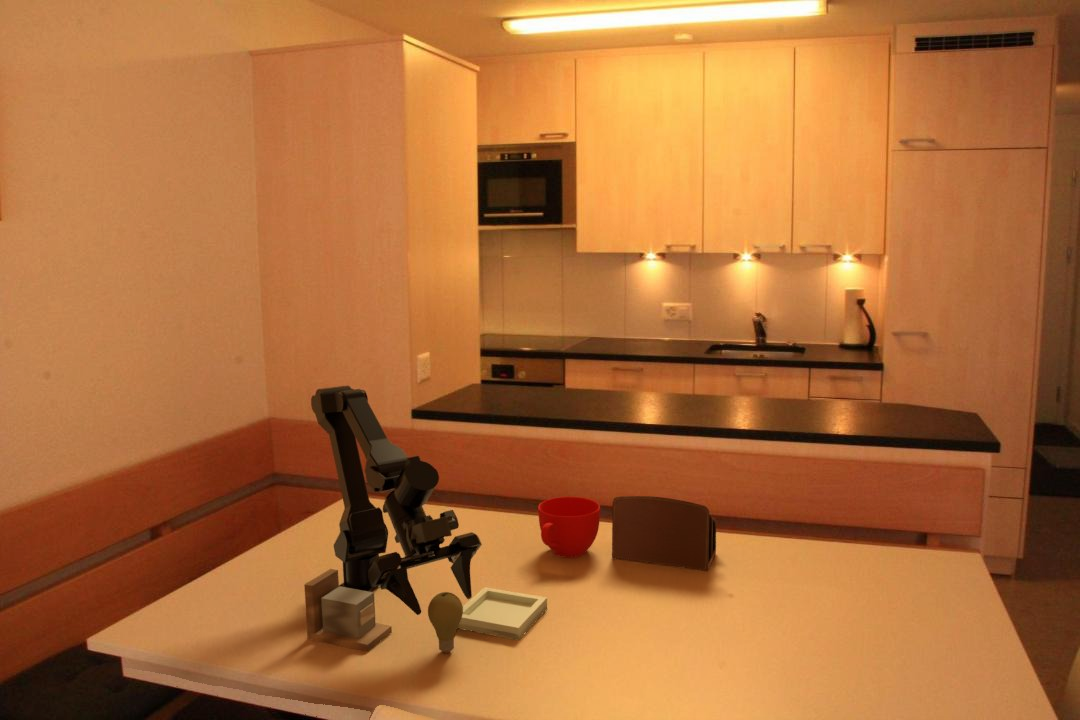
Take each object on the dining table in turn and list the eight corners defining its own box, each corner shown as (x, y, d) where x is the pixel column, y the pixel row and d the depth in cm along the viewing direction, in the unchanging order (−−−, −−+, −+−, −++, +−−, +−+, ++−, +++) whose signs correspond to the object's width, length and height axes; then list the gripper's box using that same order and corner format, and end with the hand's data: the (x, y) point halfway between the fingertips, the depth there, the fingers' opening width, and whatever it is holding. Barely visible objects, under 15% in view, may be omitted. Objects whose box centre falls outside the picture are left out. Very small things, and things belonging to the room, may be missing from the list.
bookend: (307, 638, 141) (304, 584, 139) (333, 620, 147) (330, 568, 146) (368, 651, 136) (365, 595, 135) (391, 632, 142) (389, 578, 141)
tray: (452, 627, 144) (452, 615, 143) (485, 598, 155) (484, 587, 155) (518, 640, 139) (518, 627, 139) (547, 609, 150) (547, 597, 150)
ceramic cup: (516, 562, 172) (515, 515, 170) (558, 536, 186) (558, 493, 184) (571, 575, 165) (571, 526, 163) (611, 547, 179) (610, 502, 177)
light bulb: (458, 662, 132) (456, 602, 131) (424, 659, 133) (422, 599, 132) (468, 645, 138) (466, 587, 136) (435, 642, 139) (433, 585, 137)
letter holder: (708, 572, 166) (709, 503, 164) (611, 559, 173) (611, 493, 171) (716, 554, 175) (717, 488, 173) (624, 542, 182) (624, 479, 180)
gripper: (371, 508, 131) (407, 599, 123) (474, 485, 142) (512, 568, 134) (353, 542, 138) (386, 630, 131) (452, 518, 149) (487, 598, 142)
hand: (445, 605), depth 134 cm, fingers open, 9 cm apart
